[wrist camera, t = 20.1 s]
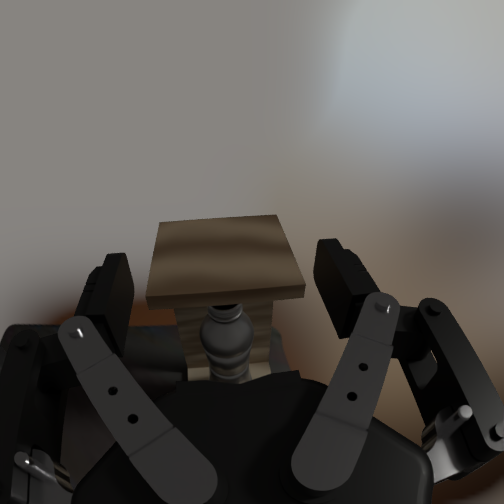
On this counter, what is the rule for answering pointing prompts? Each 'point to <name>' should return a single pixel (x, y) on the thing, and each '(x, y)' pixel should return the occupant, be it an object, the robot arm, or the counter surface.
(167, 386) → the counter surface
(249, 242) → the cubby shelf
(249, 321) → the plastic bottle
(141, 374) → the counter surface
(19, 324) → the counter surface
